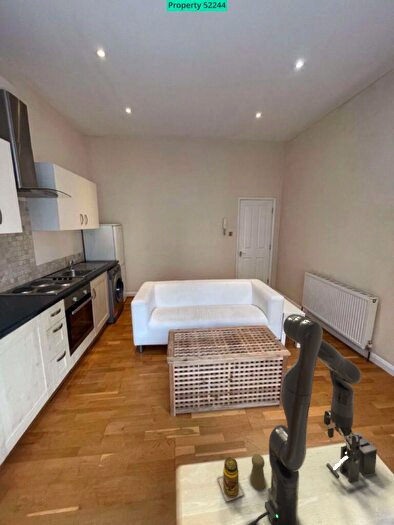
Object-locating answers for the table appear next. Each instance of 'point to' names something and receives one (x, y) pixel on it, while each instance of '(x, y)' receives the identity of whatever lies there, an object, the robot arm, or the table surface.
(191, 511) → the table surface
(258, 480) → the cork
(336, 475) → the switch lever
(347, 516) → the table surface
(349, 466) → the switch bracket
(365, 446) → the toaster body
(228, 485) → the condiment
